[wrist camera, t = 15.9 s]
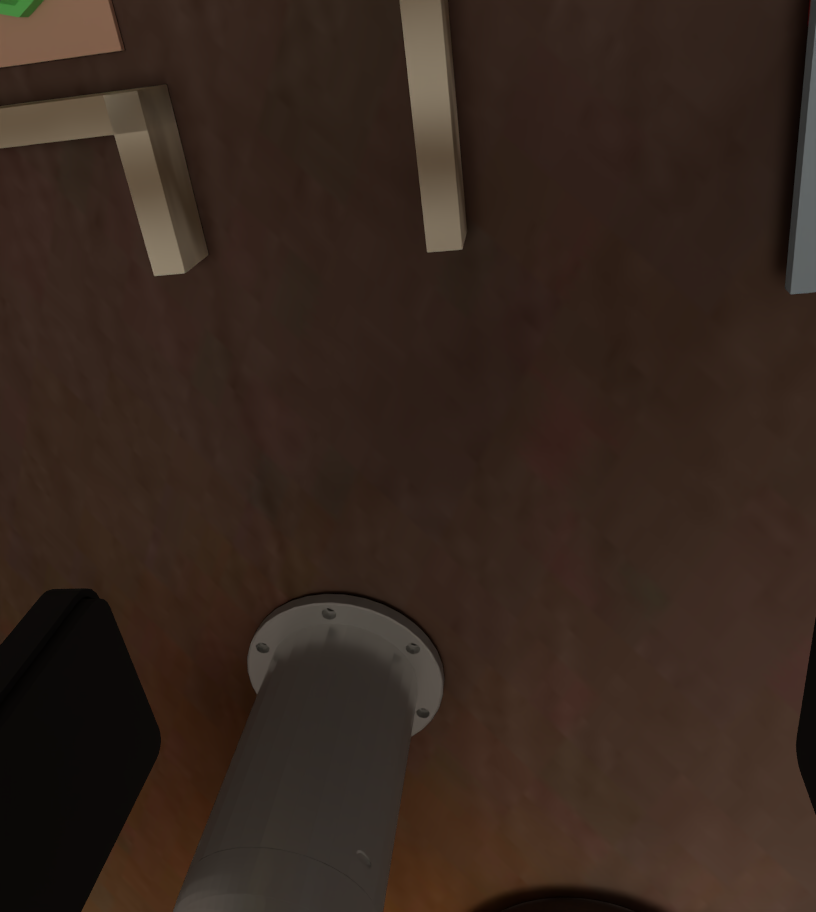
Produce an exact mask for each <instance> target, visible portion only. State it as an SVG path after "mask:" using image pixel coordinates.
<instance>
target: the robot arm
mask: <svg viewBox="0 0 816 912" xmlns="http://www.w3.org/2000/svg"><path fill="white" fill-rule="evenodd" d="M247 666H248V674H249V678H250V681H251V684H252V687H253V688H254V690H255V692H256V694H257V697H256V699H255V702H254V704H253V707H252V709H251V712H250V714H249V717H248V719H247V722H246V725H245V727H244V730H243V732H242V735H241V737H240V740H239V742H238V745H237V748H236V750H235V753H234V755H233V758H232V760H231V763H230V765H229V768H228V770H227V773H226V776H225V778H224V781H223V783H222V786H221V788H220V791H219V793H218V796H217V798H216V801H215V804H214V806H213V809H212V811H211V814H210V816H209V819H208V821H207V824H206V826H205V829H204V832H203V834H202V837H201V839H200V842H199V844H198V847H197V849H196V852H195V855H194V857H193V860H192V862H191V865H190V867H189V870H188V872H187V875H186V877H185V880H184V883H183V885H182V888H181V890H180V893H179V896H178V898H177V901H176V904H175V907H174V911H173V912H383V909H384V902H385V896H386V890H387V884H388V877H389V871H390V865H391V859H392V852H393V846H394V840H395V834H396V827H397V821H398V815H399V809H400V802H401V796H402V790H403V784H404V777H405V771H406V765H407V759H408V752H409V746H410V740H411V737H412V736H413V735H415V734H416V733H418V732H419V731H421V730H423V729H424V728H425V727H426V726H427V724H428V723H429V722H430V721H431V720H432V719H433V718H434V716H435V714H436V713H437V711H438V709H439V707H440V703H441V700H442V696H443V687H444V672H443V664H442V662H441V659H440V657H439V654H438V652H437V650H436V648H435V647H434V645H433V644H432V642H431V641H430V639H429V638H428V636H427V635H426V634H425V633H424V632H423V631H422V630H421V629H420V628H419V627H418V626H417V625H416V624H415V623H413V622H412V621H410V620H409V619H408V618H406V617H405V616H404V615H402V614H401V613H399V612H397V611H395V610H393V609H391V608H389V607H387V606H385V605H383V604H380V603H377V602H374V601H371V600H368V599H365V598H361V597H356V596H350V595H344V594H321V595H313V596H306V597H303V598H300V599H296V600H293V601H290V602H288V603H286V604H284V605H282V606H281V607H279V608H277V609H275V610H274V611H273V612H272V613H271V614H270V615H268V616H267V617H266V618H265V619H264V620H263V622H262V623H261V625H260V626H259V627H258V629H257V630H256V633H255V635H254V637H253V639H252V642H251V644H250V647H249V652H248V657H247ZM160 743H161V736H160V731H159V727H158V725H157V722H156V720H155V717H154V715H153V713H152V710H151V708H150V705H149V703H148V700H147V698H146V695H145V693H144V690H143V688H142V685H141V683H140V680H139V678H138V675H137V673H136V670H135V668H134V665H133V663H132V660H131V658H130V656H129V653H128V651H127V648H126V646H125V643H124V641H123V638H122V636H121V633H120V631H119V628H118V626H117V623H116V621H115V618H114V616H113V613H112V611H111V608H110V606H109V604H108V603H107V602H106V601H105V600H104V599H99V597H98V595H97V593H95V592H94V591H93V590H92V589H52V590H49V591H46V592H45V593H44V594H43V595H42V596H41V597H40V598H39V599H38V600H37V602H36V603H35V604H34V605H33V606H32V608H31V609H30V610H29V611H28V613H27V614H26V615H25V616H24V617H23V619H22V620H21V621H20V622H19V623H18V625H17V626H16V627H15V628H14V629H13V631H12V632H11V633H10V634H9V636H8V637H7V638H6V639H5V640H4V642H3V643H2V644H1V645H0V912H81V911H82V909H83V907H84V905H85V903H86V901H87V899H88V897H89V895H90V893H91V891H92V889H93V887H94V884H95V882H96V880H97V878H98V876H99V874H100V872H101V870H102V868H103V866H104V864H105V862H106V860H107V858H108V856H109V854H110V852H111V850H112V848H113V846H114V844H115V842H116V840H117V838H118V836H119V834H120V832H121V830H122V828H123V826H124V824H125V822H126V820H127V818H128V816H129V814H130V812H131V810H132V807H133V805H134V803H135V801H136V799H137V797H138V795H139V793H140V791H141V789H142V787H143V785H144V783H145V781H146V779H147V777H148V775H149V773H150V771H151V769H152V767H153V765H154V763H155V761H156V759H157V756H158V754H159V750H160ZM796 752H797V759H798V764H799V768H800V772H801V775H802V778H803V780H804V783H805V786H806V789H807V792H808V794H809V797H810V800H811V803H812V806H813V808H814V811H815V814H816V619H815V625H814V632H813V638H812V644H811V651H810V657H809V663H808V670H807V676H806V682H805V689H804V695H803V701H802V708H801V714H800V720H799V726H798V733H797V740H796Z"/></svg>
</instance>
